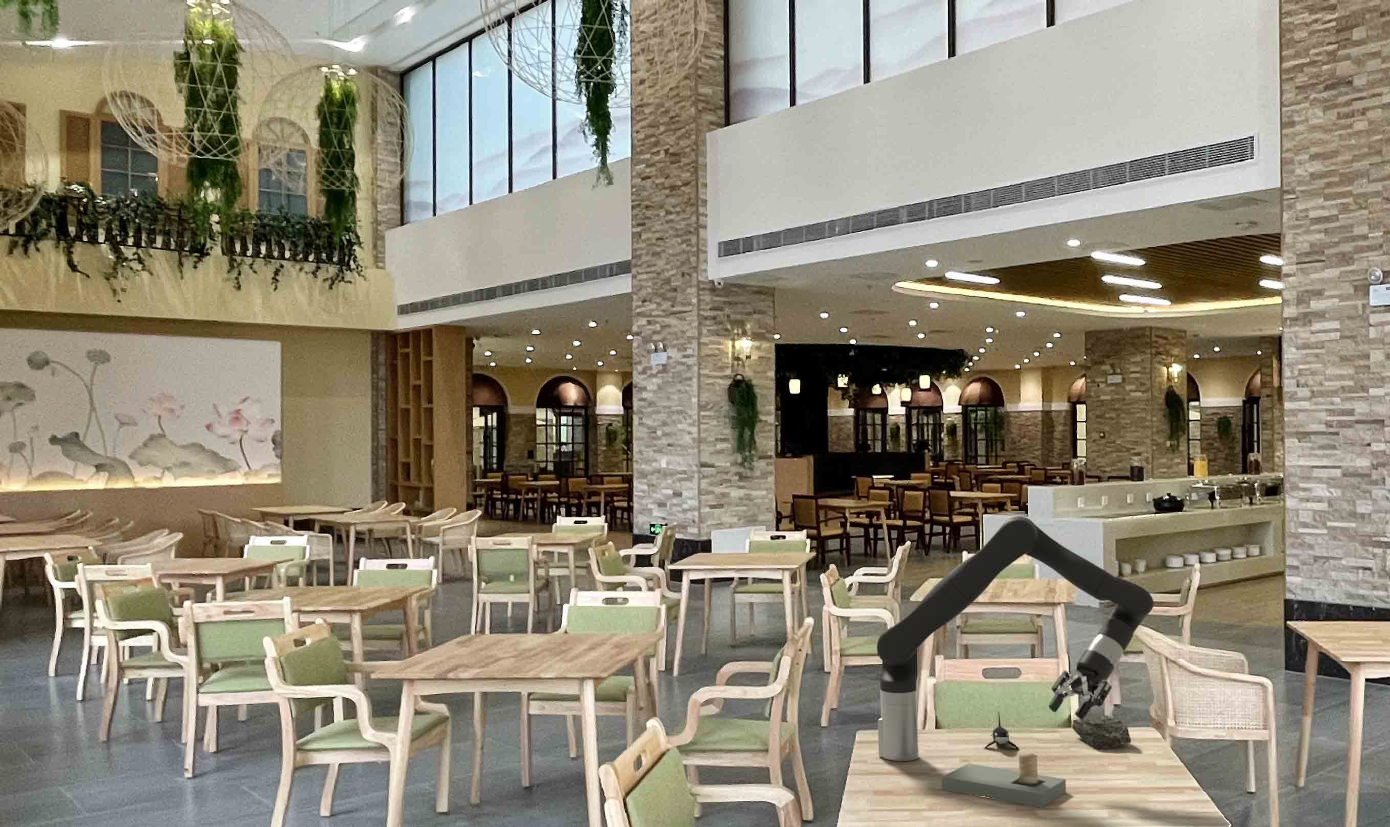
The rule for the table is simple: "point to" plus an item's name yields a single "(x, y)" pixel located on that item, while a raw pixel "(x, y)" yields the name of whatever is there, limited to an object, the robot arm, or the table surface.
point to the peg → (1028, 770)
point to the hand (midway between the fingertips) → (1064, 713)
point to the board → (1003, 785)
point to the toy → (1001, 736)
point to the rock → (1102, 731)
